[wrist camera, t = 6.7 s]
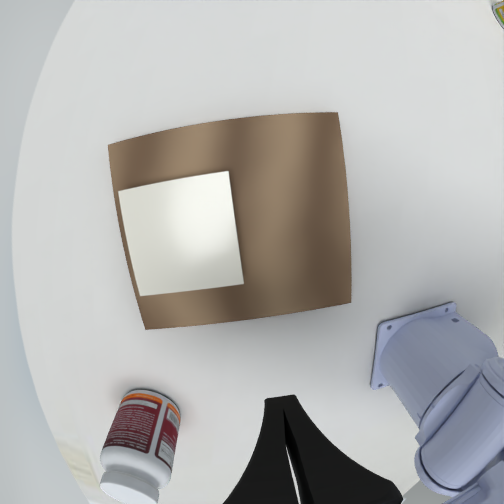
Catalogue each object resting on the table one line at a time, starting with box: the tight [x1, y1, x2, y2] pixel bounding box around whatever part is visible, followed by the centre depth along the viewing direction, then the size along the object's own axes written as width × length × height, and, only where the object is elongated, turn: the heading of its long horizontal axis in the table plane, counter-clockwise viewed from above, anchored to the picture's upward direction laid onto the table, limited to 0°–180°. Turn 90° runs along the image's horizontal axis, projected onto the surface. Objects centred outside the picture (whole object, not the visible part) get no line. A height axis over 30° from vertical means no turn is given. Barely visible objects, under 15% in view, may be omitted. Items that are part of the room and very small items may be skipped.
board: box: [108, 112, 351, 330], centre depth 19 cm, size 16×14×1 cm
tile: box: [118, 171, 244, 296], centre depth 18 cm, size 2×7×7 cm
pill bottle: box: [100, 390, 180, 504], centre depth 18 cm, size 6×6×11 cm
